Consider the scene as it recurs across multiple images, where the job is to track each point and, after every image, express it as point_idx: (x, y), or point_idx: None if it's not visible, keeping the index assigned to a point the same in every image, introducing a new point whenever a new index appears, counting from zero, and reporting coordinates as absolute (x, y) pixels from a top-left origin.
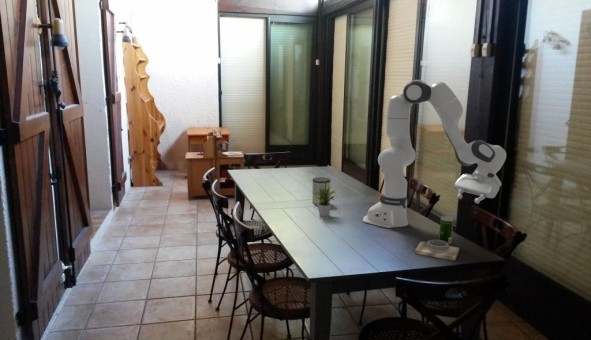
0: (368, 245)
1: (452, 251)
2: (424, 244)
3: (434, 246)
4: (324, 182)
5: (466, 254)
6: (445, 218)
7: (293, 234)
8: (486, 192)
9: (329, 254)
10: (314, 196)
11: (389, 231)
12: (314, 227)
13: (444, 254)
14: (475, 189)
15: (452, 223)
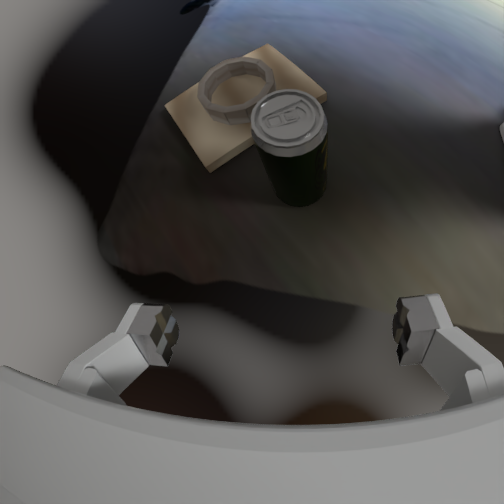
0: (371, 8)
1: (195, 123)
2: (294, 83)
3: (221, 63)
4: None
5: (176, 174)
6: (271, 94)
7: None
8: (12, 379)
9: None
10: None
11: (472, 106)
12: (501, 17)
13: (194, 89)
14: (156, 433)
15: (255, 144)
